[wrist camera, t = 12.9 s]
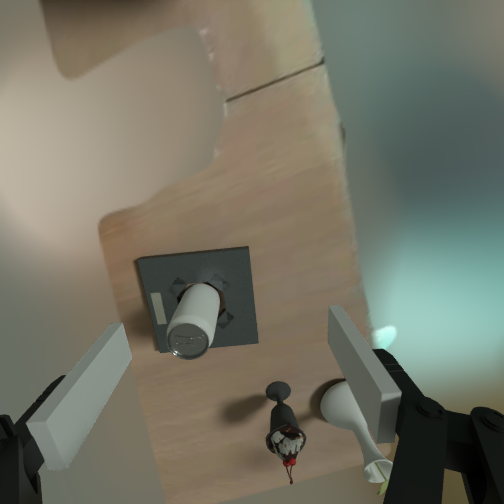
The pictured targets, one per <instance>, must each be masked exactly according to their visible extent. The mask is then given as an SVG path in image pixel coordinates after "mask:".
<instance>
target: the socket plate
mask: <svg viewBox="0 0 504 504" xmlns="http://www.w3.org/2000/svg"><path fill="white" fill-rule="evenodd" d="M138 264H139V268H140V273H141V277H142V281H143V285H144V289H145V293H146V297H147V302H148V306H149V310H150V314H151V318H152V322H153V326H154V330H155V335H156V339H157V343H158V347H159V351H160V353H166V352H170V350H169V349H168V346H167V342H166V340H167V329H168V326H169V324H170V321H171V319H172V317H173V315H174V313H175V311H176V309H177V307H178V305H179V303H180V297H179V294H180V293H181V292H182V290H183V289H184V288H185V287H186V286H187V284H190V283H200V282H209V283H210V284H212V285H213V286H215V287H216V288H217V289H219V290H220V291H222V292H223V293H224V299H225V306H226V307H225V309H224V310H223V311H222V312H221V313H220V314H219V315H218V317H217V322H216V328H215V333H214V338H213V341H212V343H211V345H210V346H209V348H216V347H226V346H236V345H246V344H256V343H259V342H258V332H257V322H256V313H255V303H254V293H253V284H252V274H251V264H250V255H249V246H245V247H235V248H225V249H215V250H205V251H195V252H185V253H175V254H165V255H155V256H145V257H140V258H139V259H138Z"/></svg>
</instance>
